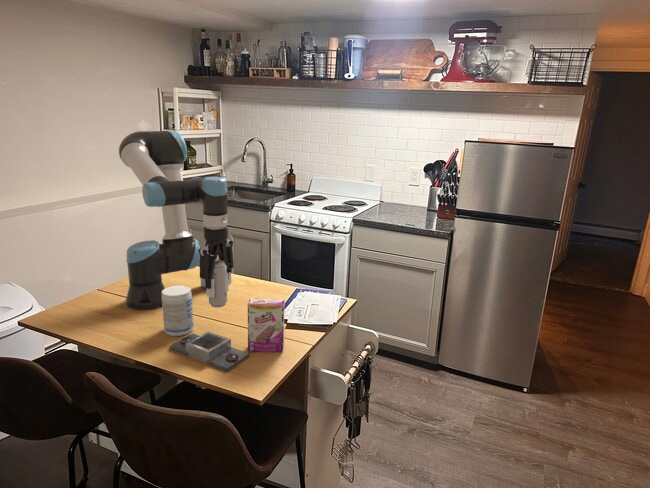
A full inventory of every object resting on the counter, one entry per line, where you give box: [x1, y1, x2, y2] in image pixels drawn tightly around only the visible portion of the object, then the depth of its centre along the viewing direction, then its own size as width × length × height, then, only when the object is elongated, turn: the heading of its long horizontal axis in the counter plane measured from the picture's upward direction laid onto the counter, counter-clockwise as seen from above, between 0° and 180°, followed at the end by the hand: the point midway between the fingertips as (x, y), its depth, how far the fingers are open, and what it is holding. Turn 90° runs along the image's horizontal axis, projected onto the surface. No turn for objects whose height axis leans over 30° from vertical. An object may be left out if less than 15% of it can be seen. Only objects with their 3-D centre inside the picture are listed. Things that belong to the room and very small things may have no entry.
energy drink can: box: [208, 260, 228, 308], centre depth 154 cm, size 6×6×15 cm
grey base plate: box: [168, 330, 250, 372], centre depth 144 cm, size 24×10×4 cm, turn 59°
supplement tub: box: [161, 285, 195, 337], centre depth 157 cm, size 10×10×15 cm
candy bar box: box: [247, 297, 286, 353], centre depth 146 cm, size 11×5×16 cm, turn 91°
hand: (217, 293), depth 155 cm, fingers closed on energy drink can, 6 cm apart
